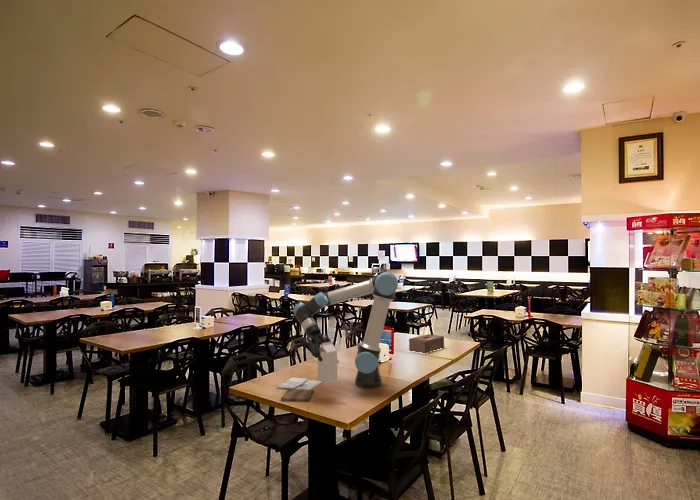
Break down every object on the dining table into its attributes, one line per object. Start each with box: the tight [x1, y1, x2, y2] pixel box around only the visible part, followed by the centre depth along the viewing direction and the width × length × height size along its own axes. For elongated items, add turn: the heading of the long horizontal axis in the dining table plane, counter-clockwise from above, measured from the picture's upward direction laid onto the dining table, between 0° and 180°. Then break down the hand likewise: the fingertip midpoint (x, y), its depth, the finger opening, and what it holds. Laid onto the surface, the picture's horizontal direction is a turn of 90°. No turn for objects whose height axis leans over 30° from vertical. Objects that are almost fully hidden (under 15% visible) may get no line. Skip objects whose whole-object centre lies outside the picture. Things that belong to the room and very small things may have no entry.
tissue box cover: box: [408, 333, 445, 353], centre depth 307 cm, size 26×14×10 cm, turn 134°
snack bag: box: [276, 376, 324, 390], centre depth 222 cm, size 19×20×2 cm
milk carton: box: [317, 340, 338, 384], centre depth 200 cm, size 7×7×19 cm
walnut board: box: [280, 389, 315, 403], centre depth 203 cm, size 14×14×2 cm
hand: (332, 364), depth 197 cm, fingers closed on milk carton, 7 cm apart
